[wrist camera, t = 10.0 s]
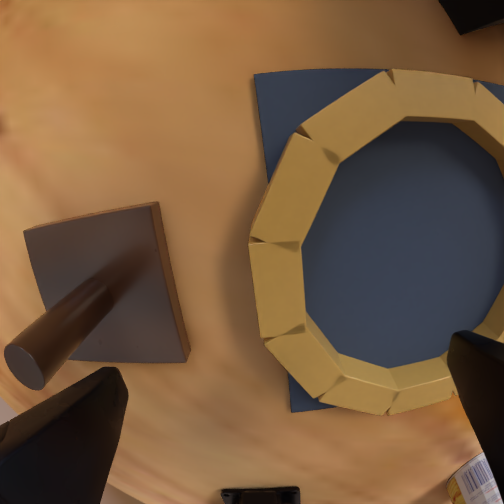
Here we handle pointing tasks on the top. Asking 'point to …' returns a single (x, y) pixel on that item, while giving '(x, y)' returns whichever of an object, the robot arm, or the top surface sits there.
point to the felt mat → (392, 229)
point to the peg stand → (100, 295)
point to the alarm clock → (474, 13)
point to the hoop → (302, 216)
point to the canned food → (474, 484)
